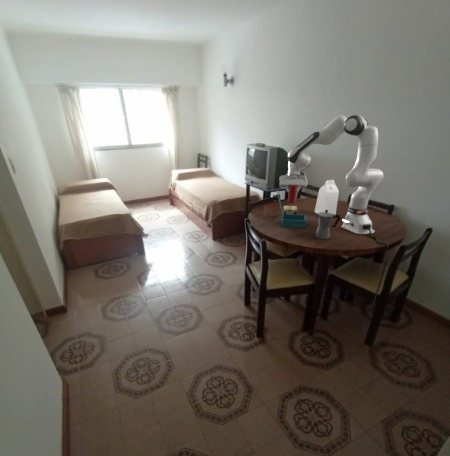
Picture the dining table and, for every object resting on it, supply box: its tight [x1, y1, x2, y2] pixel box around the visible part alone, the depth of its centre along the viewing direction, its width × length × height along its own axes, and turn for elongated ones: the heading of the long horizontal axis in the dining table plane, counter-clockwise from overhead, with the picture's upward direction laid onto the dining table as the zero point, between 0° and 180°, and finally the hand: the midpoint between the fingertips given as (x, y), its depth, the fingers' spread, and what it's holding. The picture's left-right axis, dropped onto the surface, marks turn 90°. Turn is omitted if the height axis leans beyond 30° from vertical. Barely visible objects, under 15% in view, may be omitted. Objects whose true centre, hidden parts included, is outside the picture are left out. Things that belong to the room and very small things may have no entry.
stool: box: [283, 205, 299, 214], centre depth 212 cm, size 10×10×8 cm
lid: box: [271, 190, 284, 220], centre depth 195 cm, size 17×13×5 cm
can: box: [287, 184, 298, 204], centre depth 203 cm, size 6×6×13 cm
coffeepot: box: [314, 210, 341, 240], centre depth 175 cm, size 15×9×18 cm, turn 68°
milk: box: [314, 179, 340, 215], centre depth 216 cm, size 12×12×26 cm
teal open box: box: [281, 213, 307, 228], centre depth 199 cm, size 17×13×6 cm
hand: (292, 191), depth 202 cm, fingers closed on can, 5 cm apart
